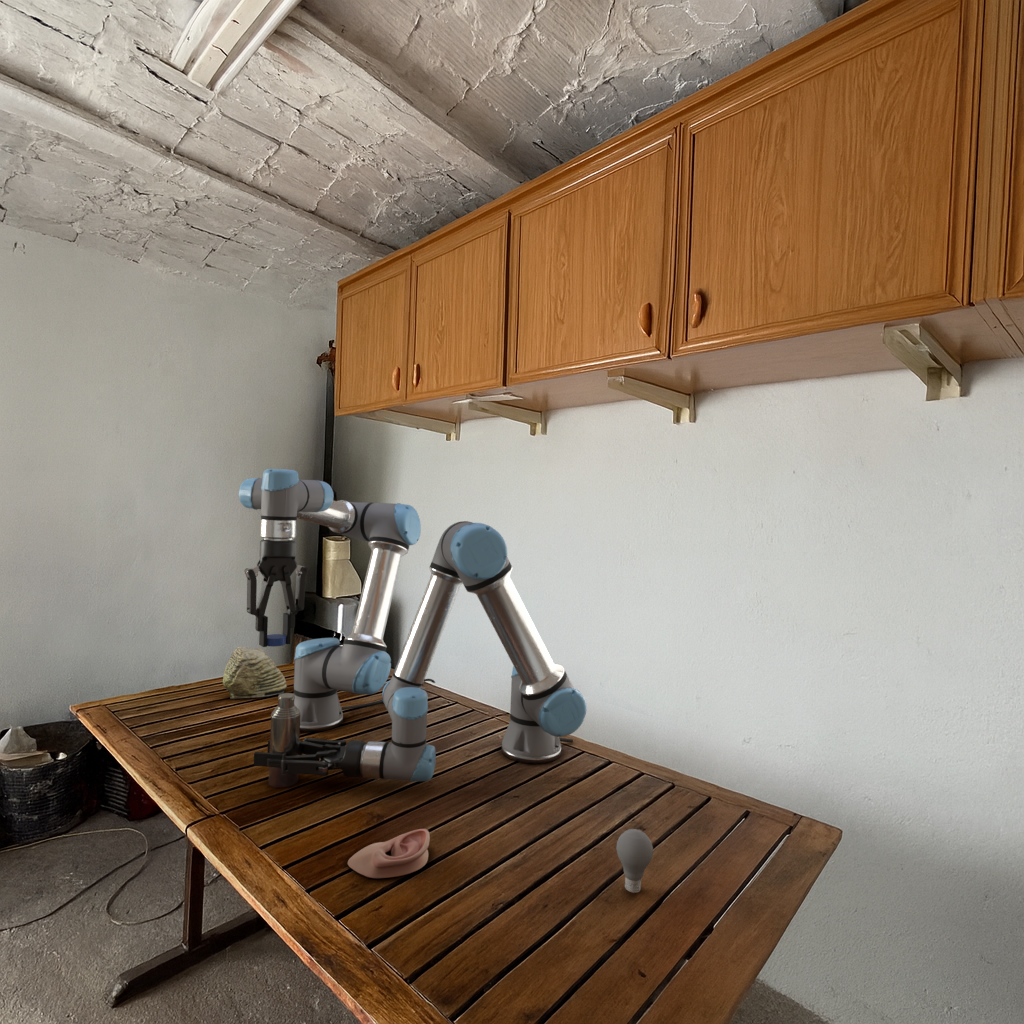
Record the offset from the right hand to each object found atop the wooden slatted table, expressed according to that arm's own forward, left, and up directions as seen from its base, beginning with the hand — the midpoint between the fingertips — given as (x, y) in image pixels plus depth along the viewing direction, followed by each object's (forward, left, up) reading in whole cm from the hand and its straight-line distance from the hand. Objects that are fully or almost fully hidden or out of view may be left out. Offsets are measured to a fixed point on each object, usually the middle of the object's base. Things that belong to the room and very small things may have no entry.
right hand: (261, 752), depth 140 cm
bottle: (-5, +2, -6) cm, 8 cm away
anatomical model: (-21, +40, -6) cm, 45 cm away
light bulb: (-57, +61, -6) cm, 84 cm away
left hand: (-2, 0, +24) cm, 24 cm away
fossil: (+1, -63, -6) cm, 63 cm away
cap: (-2, 0, +26) cm, 26 cm away
